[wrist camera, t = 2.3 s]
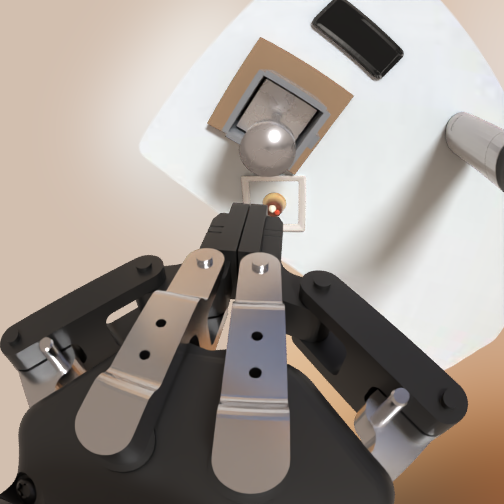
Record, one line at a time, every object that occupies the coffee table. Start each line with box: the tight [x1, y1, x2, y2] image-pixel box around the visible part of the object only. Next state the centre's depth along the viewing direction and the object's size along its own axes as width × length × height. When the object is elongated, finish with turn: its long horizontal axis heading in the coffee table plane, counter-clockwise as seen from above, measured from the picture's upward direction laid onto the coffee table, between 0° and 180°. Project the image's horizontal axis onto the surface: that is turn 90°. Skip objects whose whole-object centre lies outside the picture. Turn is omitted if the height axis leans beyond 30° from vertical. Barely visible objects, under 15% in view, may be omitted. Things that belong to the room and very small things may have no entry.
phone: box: [313, 0, 404, 78], centre depth 35 cm, size 8×1×15 cm
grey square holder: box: [207, 37, 353, 175], centre depth 39 cm, size 18×18×16 cm
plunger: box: [237, 79, 317, 177], centre depth 28 cm, size 8×8×17 cm
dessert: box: [241, 176, 306, 231], centre depth 55 cm, size 12×12×5 cm
